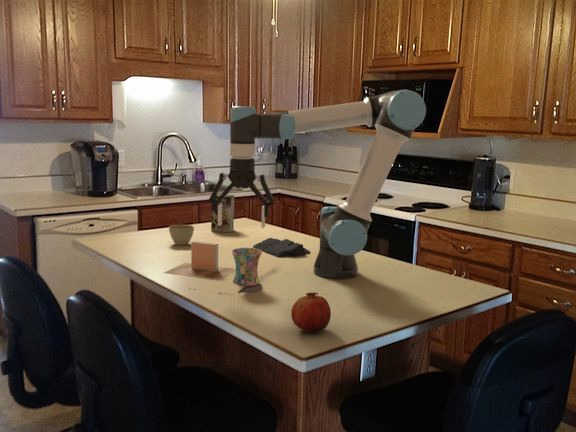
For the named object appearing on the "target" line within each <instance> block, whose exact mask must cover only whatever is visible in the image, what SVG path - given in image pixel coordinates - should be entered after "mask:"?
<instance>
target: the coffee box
mask: <svg viewBox="0 0 576 432" xmlns="http://www.w3.org/2000/svg"><path fill="white" fill-rule="evenodd" d="M221 194H222V193H220V194H219V193H217V195H216V197H215V199H218V197H219V196H220V195H221ZM219 204H222V225H221V226H218V215H215V205H214V203H211V212H210V213H211V220H210V221H211V223H210V224H211V225H210V226H211V227H210V231H211V230H212V231H211V232H220V231H226V232H225V233H231V232H233V231H234V230H233V229H234V225H235V223H234V220H235V219H234V217H235V216H234V215H235V195H234V194H233V195H232V194H227V195H226V196H225V197H224V198H223V199H222V201H221V202H220V203H219ZM230 231H231V232H230Z"/></svg>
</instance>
